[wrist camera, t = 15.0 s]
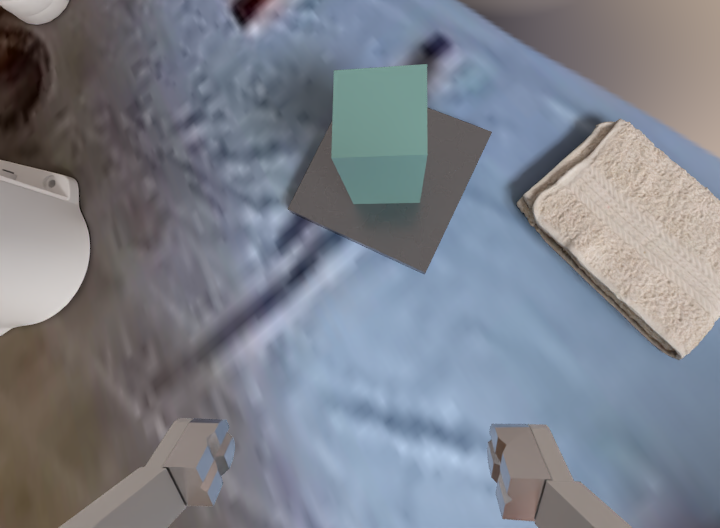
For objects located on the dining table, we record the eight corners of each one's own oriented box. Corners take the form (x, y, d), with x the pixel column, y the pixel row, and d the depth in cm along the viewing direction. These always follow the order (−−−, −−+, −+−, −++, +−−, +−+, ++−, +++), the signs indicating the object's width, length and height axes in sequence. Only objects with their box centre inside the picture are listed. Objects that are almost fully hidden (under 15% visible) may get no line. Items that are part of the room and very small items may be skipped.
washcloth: (599, 122, 32) (619, 103, 29) (769, 262, 29) (812, 257, 26) (504, 210, 32) (515, 200, 29) (664, 359, 29) (694, 365, 26)
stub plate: (292, 213, 34) (271, 195, 29) (355, 89, 35) (346, 49, 30) (424, 274, 32) (428, 267, 26) (487, 140, 33) (504, 106, 27)
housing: (353, 204, 32) (331, 158, 22) (354, 141, 33) (333, 70, 23) (419, 202, 31) (427, 154, 21) (419, 139, 32) (426, 64, 22)
